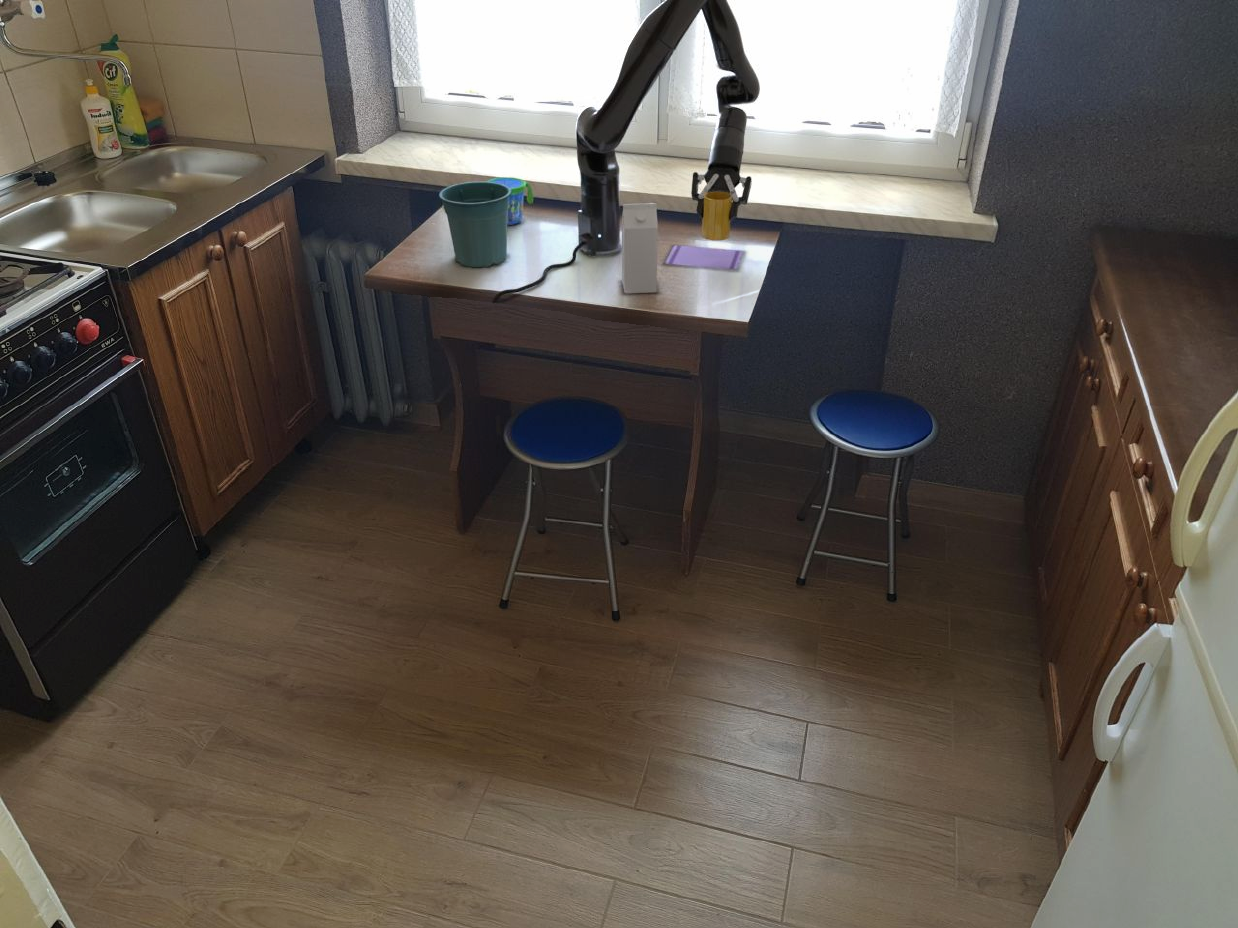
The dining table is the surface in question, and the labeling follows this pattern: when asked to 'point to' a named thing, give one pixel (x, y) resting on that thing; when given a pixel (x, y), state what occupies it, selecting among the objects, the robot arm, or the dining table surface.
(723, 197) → the tumbler
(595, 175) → the robot arm
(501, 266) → the dining table surface
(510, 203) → the snack cup
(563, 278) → the dining table surface
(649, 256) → the milk carton
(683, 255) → the cloth
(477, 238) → the flower pot
